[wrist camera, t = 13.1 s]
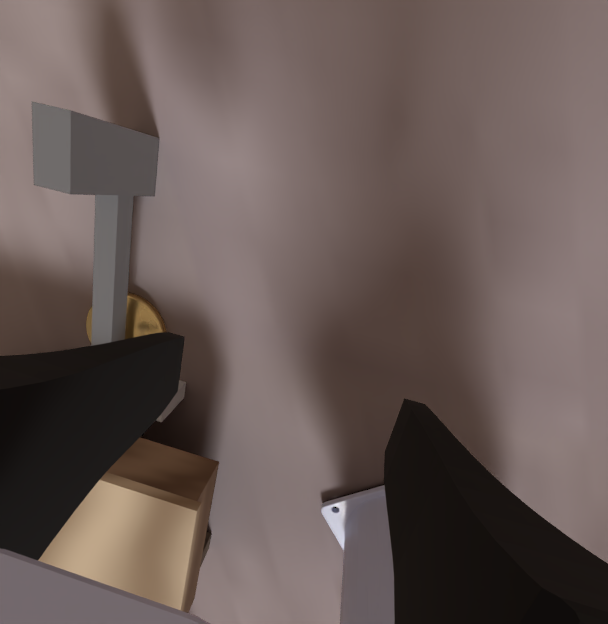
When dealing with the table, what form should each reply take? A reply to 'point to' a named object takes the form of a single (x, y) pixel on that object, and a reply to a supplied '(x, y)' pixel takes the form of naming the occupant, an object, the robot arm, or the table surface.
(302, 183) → the table surface
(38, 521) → the robot arm
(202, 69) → the table surface
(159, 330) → the brass disc
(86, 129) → the grey t-shaped piece
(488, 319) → the table surface
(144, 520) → the tan cardboard box
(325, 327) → the table surface
